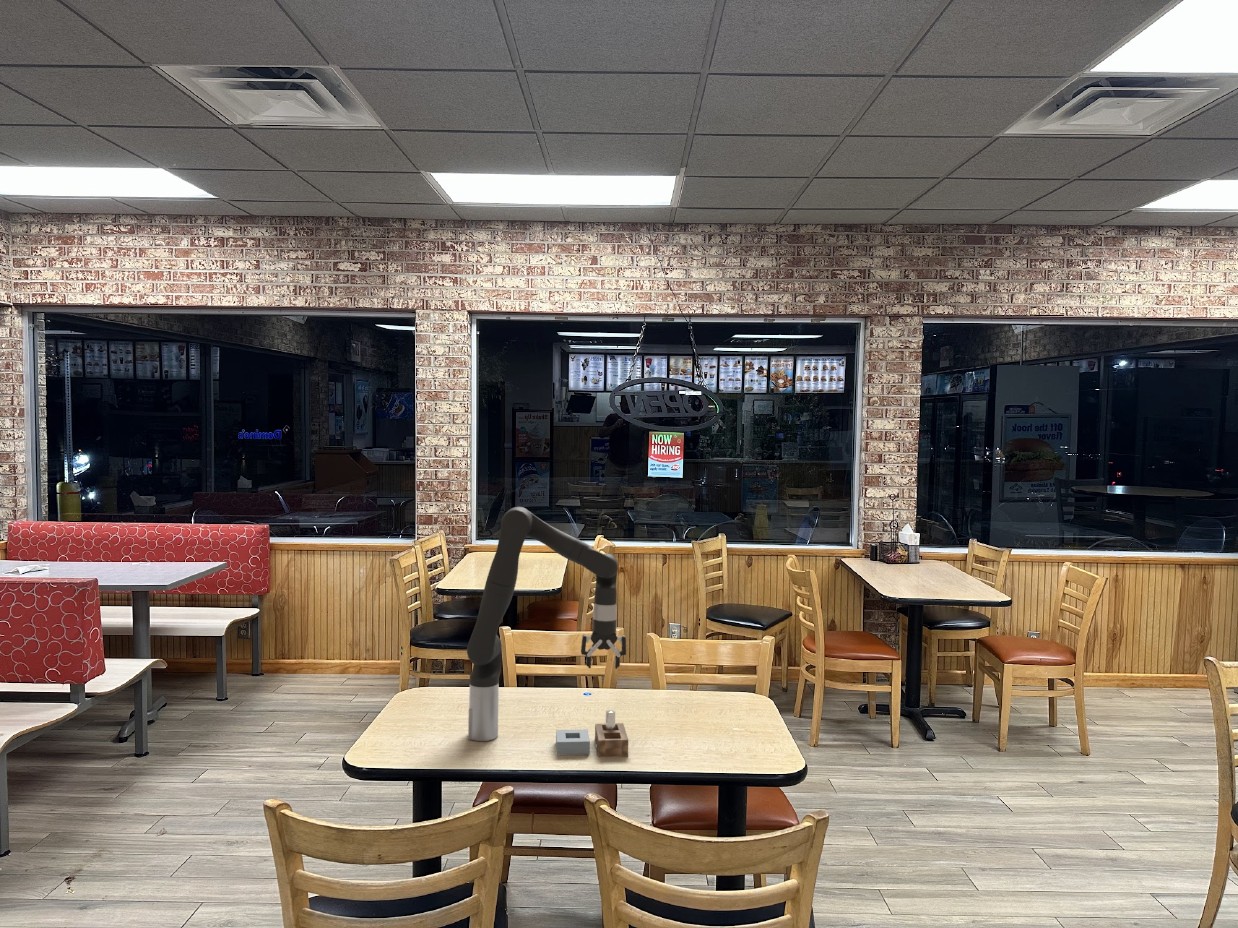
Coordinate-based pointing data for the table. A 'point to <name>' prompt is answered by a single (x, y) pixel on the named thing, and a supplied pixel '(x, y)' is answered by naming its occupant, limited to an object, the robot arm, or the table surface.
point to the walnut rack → (611, 740)
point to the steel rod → (610, 720)
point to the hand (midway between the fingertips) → (602, 667)
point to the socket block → (572, 742)
